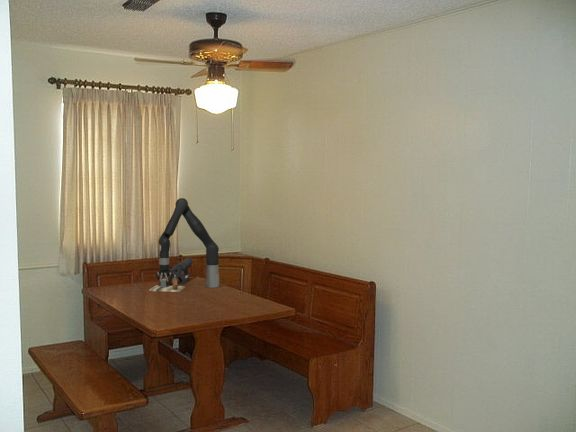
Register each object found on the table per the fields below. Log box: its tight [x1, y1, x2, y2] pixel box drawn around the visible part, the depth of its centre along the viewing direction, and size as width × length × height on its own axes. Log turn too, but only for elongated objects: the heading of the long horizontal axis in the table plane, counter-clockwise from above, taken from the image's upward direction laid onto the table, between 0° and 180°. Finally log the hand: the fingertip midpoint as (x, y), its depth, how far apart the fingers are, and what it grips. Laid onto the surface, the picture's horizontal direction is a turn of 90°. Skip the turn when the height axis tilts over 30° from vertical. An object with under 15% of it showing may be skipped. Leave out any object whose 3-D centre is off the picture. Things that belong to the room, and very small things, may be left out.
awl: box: [171, 275, 178, 290], centre depth 402 cm, size 4×4×11 cm
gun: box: [168, 257, 194, 285], centre depth 426 cm, size 7×28×20 cm, turn 154°
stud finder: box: [160, 278, 167, 287], centre depth 411 cm, size 4×6×6 cm, turn 176°
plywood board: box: [149, 284, 186, 293], centre depth 408 cm, size 23×15×1 cm, turn 86°
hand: (164, 285), depth 411 cm, fingers closed on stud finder, 4 cm apart
